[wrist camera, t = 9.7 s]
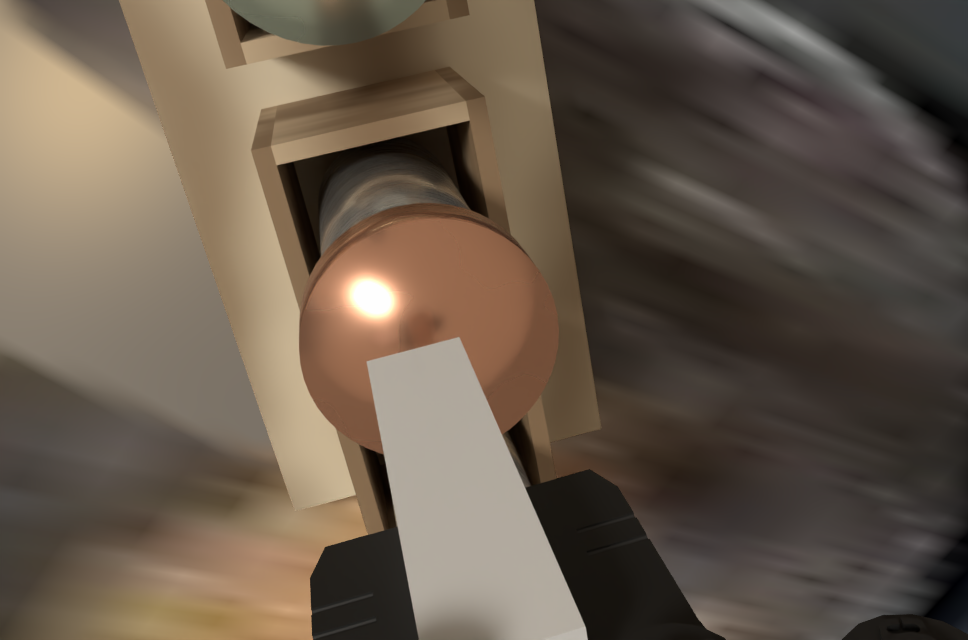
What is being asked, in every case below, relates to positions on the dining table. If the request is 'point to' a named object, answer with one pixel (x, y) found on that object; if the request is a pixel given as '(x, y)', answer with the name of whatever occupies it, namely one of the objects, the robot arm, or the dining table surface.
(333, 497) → the beige boxy slotted piece
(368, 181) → the terracotta plunger
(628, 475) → the dining table surface
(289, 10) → the sage plunger
